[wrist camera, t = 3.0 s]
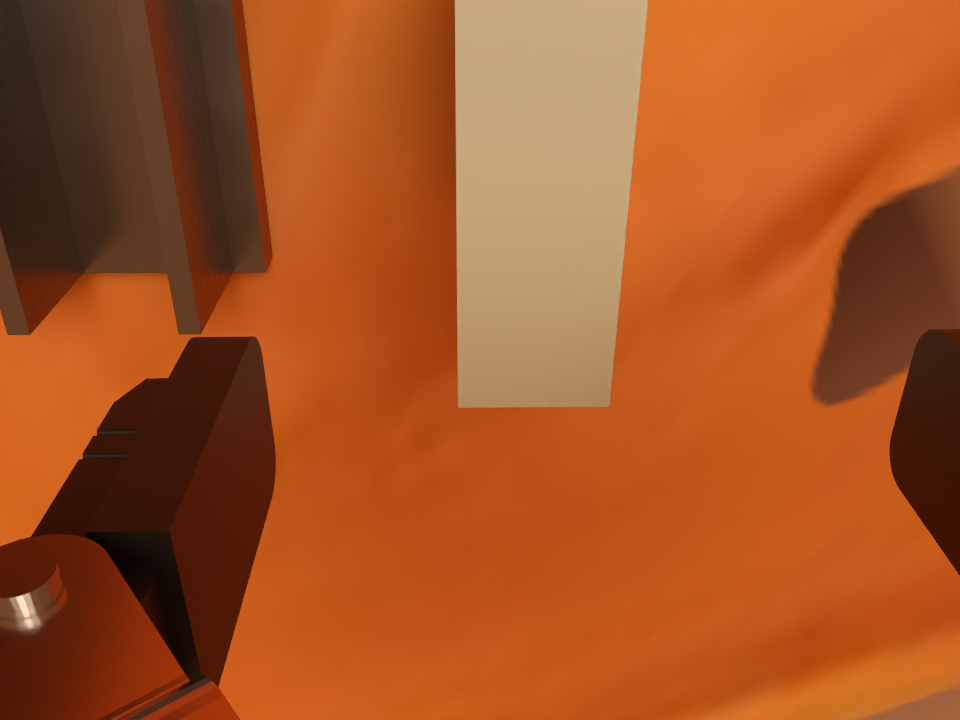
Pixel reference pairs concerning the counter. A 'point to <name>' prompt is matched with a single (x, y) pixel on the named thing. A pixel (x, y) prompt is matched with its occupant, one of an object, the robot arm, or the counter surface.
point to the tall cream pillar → (542, 195)
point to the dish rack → (126, 151)
